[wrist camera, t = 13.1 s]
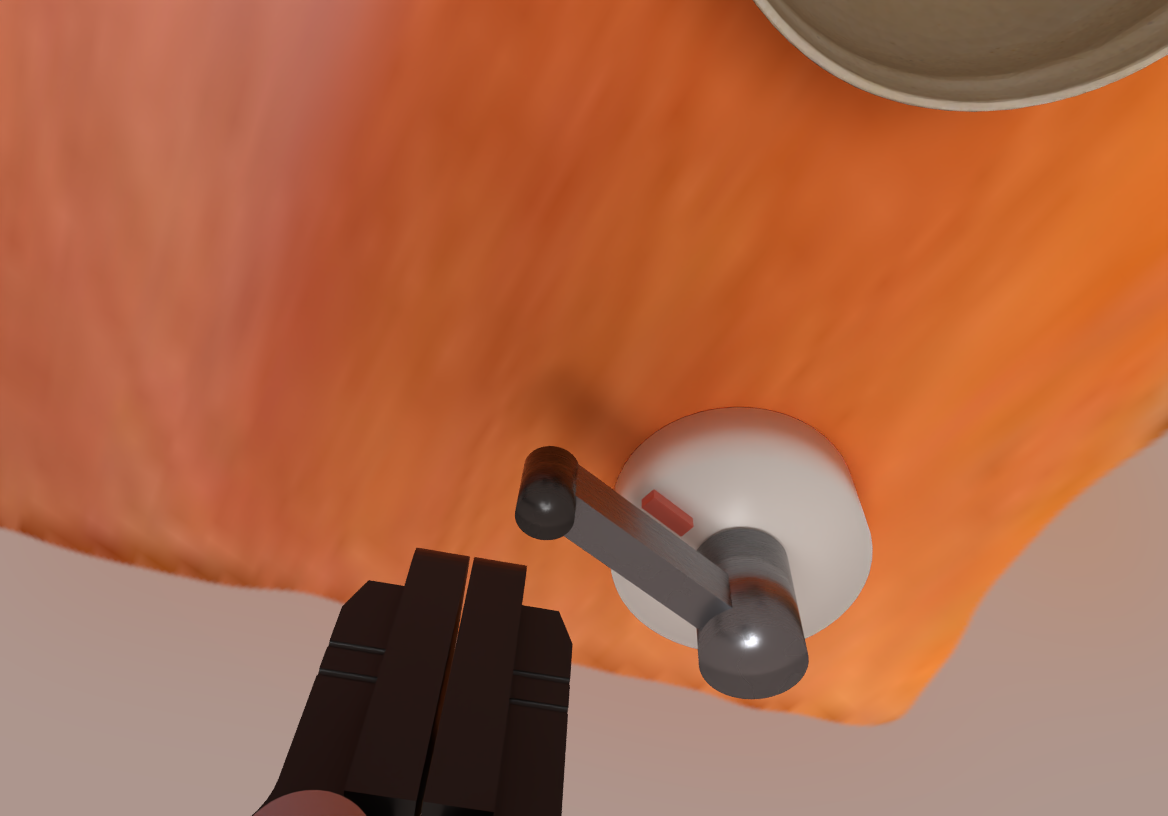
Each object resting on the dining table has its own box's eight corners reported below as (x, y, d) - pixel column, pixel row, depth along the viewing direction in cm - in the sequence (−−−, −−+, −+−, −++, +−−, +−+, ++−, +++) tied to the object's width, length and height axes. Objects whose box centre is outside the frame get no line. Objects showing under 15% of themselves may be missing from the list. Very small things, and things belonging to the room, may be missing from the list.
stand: (729, 629, 49) (737, 696, 45) (564, 512, 45) (556, 574, 41) (905, 504, 44) (931, 568, 40) (734, 360, 40) (744, 414, 36)
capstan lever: (808, 564, 41) (831, 661, 36) (738, 614, 42) (751, 713, 38) (571, 382, 36) (560, 464, 31) (505, 447, 38) (484, 534, 33)
